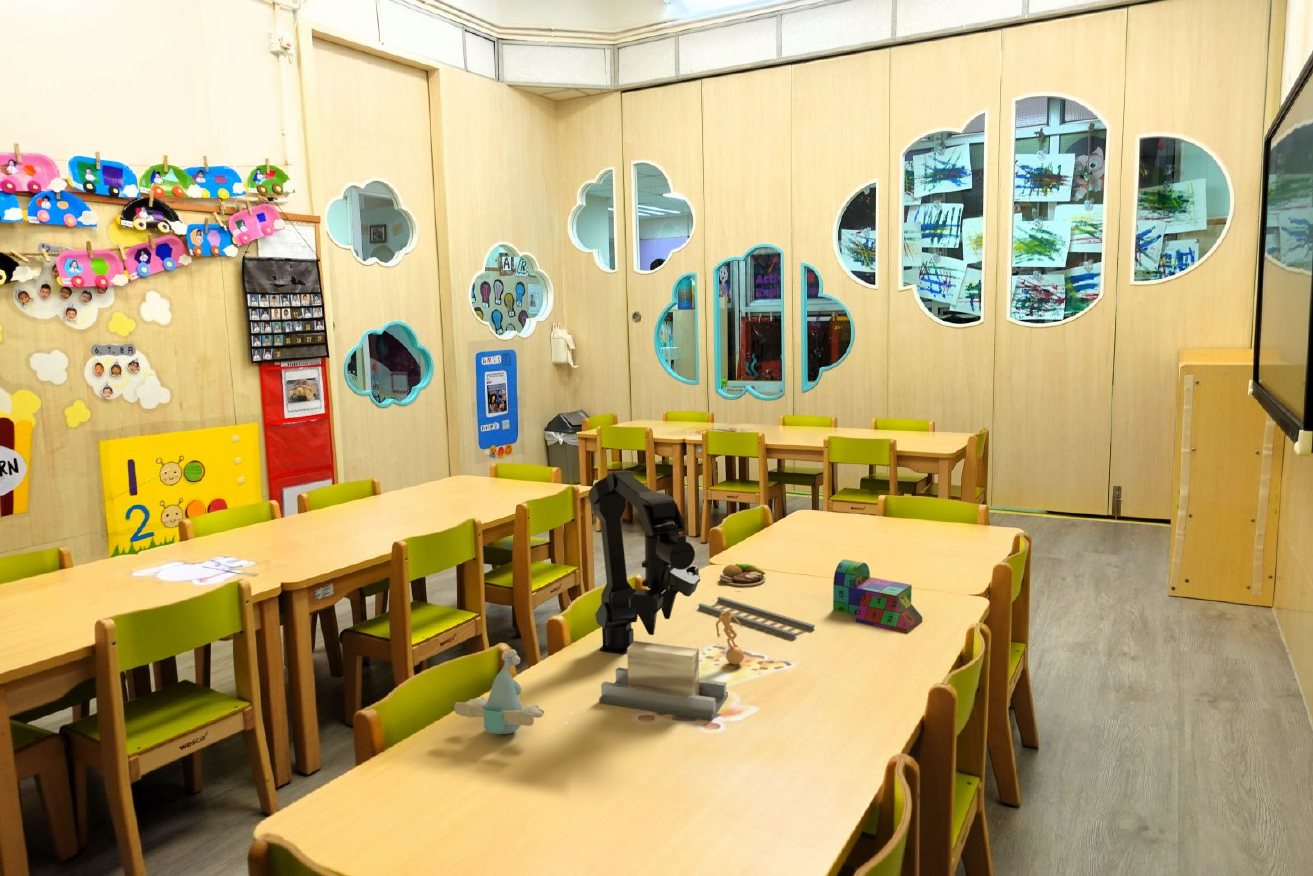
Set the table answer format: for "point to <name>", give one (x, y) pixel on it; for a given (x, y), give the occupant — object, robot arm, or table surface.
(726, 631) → the figurine
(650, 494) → the robot arm
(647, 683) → the door panel
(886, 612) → the toy train engine
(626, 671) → the floor track
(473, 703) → the toy figure
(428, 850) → the table surface
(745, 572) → the toy food set
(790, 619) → the model train track
